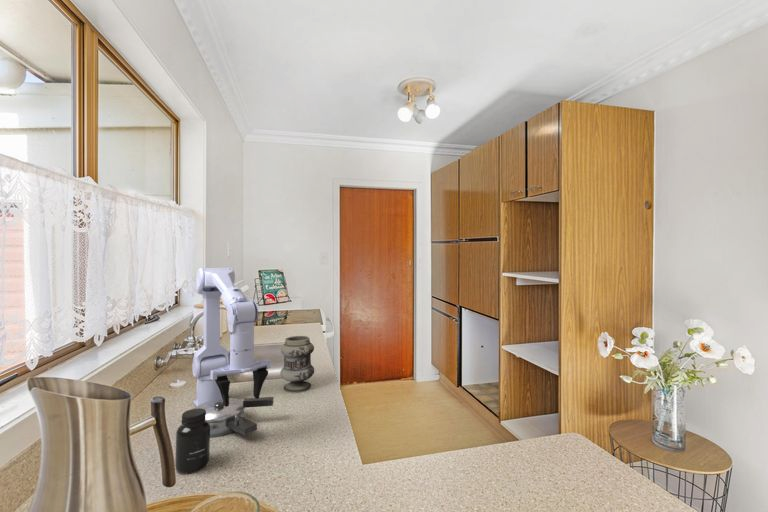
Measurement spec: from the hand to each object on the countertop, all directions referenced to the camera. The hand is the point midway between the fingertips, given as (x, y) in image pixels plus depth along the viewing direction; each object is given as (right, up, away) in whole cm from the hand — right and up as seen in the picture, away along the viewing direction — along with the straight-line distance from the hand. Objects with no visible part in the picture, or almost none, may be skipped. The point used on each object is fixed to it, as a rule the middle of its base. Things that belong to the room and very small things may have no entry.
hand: (241, 401), depth 90 cm
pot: (-6, -10, +5) cm, 13 cm away
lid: (-6, -6, +8) cm, 12 cm away
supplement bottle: (-7, -10, -11) cm, 16 cm away
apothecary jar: (+5, -10, +36) cm, 38 cm away
